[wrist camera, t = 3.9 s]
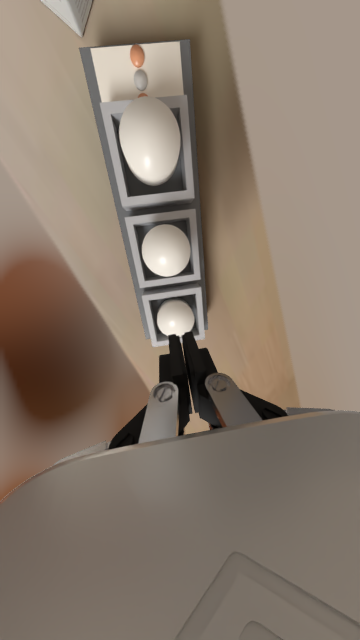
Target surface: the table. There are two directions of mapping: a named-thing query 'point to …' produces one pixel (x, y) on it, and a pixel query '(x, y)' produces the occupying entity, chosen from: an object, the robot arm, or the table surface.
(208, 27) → the table surface
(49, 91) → the table surface
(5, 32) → the table surface
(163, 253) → the button middle
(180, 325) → the button
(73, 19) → the small box
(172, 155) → the button
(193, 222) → the button board
